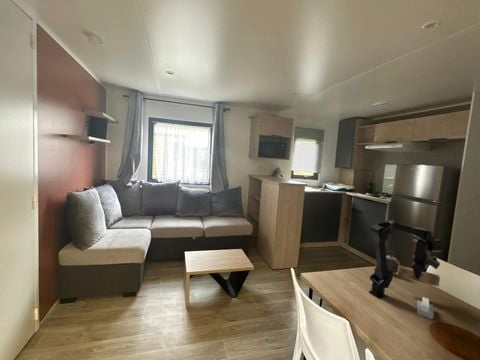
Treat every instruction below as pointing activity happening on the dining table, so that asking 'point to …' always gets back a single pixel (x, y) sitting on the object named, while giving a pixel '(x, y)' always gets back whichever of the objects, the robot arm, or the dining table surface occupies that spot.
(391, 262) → the alarm clock
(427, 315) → the ridge stand
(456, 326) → the dining table surface
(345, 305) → the dining table surface
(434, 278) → the walnut bar
